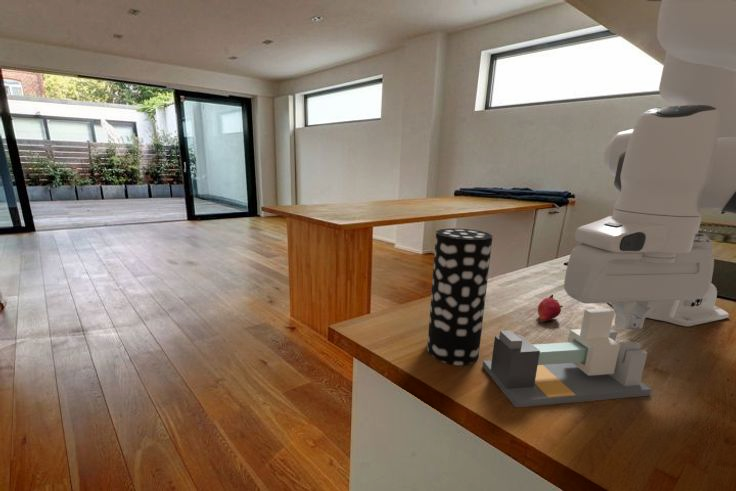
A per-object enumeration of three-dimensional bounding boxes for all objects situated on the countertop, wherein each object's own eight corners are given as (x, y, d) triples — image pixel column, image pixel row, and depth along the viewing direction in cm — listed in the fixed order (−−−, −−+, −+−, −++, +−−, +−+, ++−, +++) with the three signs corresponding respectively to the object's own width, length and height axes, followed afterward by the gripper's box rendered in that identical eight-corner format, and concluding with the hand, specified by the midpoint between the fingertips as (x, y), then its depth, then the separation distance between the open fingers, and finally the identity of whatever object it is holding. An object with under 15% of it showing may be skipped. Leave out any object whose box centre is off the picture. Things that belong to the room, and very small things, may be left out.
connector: (515, 367, 50) (521, 326, 49) (534, 386, 46) (541, 342, 44) (490, 369, 50) (495, 328, 48) (506, 389, 45) (513, 344, 44)
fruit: (529, 319, 69) (532, 296, 67) (542, 312, 72) (545, 290, 71) (551, 327, 65) (555, 303, 64) (563, 319, 69) (567, 296, 68)
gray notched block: (599, 356, 54) (605, 325, 52) (639, 384, 47) (648, 349, 46) (585, 357, 53) (592, 326, 52) (624, 386, 47) (632, 350, 45)
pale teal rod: (608, 351, 51) (611, 339, 50) (620, 359, 49) (622, 346, 48) (509, 358, 48) (511, 345, 48) (517, 366, 46) (519, 353, 46)
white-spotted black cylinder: (424, 337, 60) (432, 227, 56) (471, 339, 60) (483, 229, 55) (431, 364, 52) (441, 238, 48) (485, 366, 52) (500, 240, 47)
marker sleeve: (588, 355, 52) (599, 303, 50) (613, 373, 47) (626, 317, 45) (564, 357, 51) (574, 304, 49) (588, 375, 47) (600, 318, 45)
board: (597, 358, 55) (598, 352, 55) (649, 395, 46) (651, 388, 46) (482, 366, 52) (483, 360, 52) (515, 407, 43) (516, 400, 43)
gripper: (689, 228, 50) (667, 315, 53) (565, 228, 47) (549, 320, 50) (741, 238, 44) (712, 334, 47) (602, 238, 41) (582, 342, 44)
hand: (627, 327), depth 49 cm, fingers closed
